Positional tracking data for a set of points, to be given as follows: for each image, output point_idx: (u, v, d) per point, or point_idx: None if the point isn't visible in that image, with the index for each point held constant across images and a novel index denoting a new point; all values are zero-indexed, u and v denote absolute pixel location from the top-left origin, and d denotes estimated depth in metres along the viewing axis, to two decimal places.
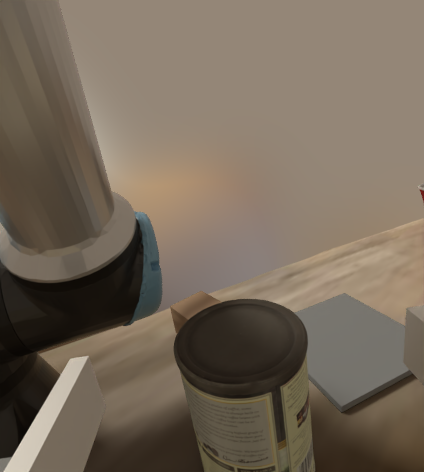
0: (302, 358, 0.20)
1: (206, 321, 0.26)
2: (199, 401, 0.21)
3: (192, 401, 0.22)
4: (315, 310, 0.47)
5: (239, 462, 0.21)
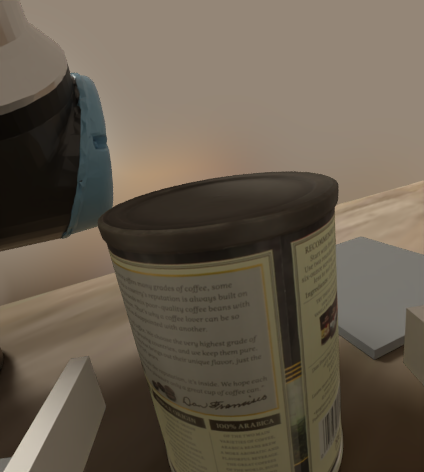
0: (332, 200, 0.10)
1: (166, 196, 0.16)
2: (135, 289, 0.11)
3: (127, 298, 0.12)
4: None
5: (213, 408, 0.11)
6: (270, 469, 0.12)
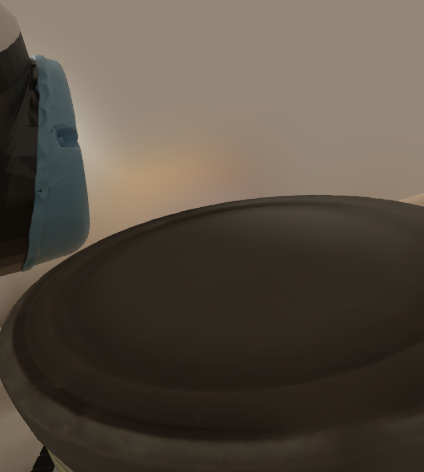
0: None
1: (155, 236, 0.10)
2: None
3: None
4: None
5: None
6: None
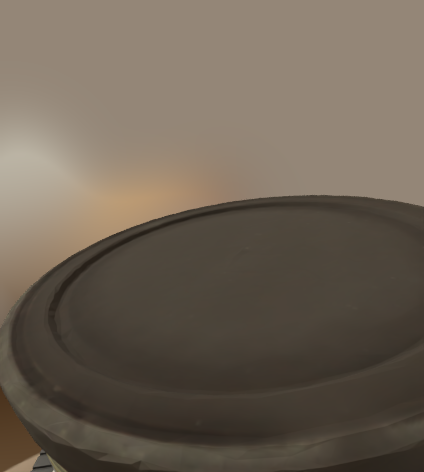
0: None
1: (154, 237, 0.10)
2: None
3: None
4: None
5: None
6: None
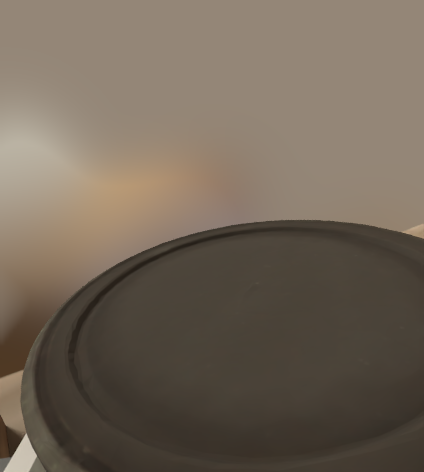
0: None
1: (164, 264, 0.10)
2: None
3: None
4: None
5: None
6: None
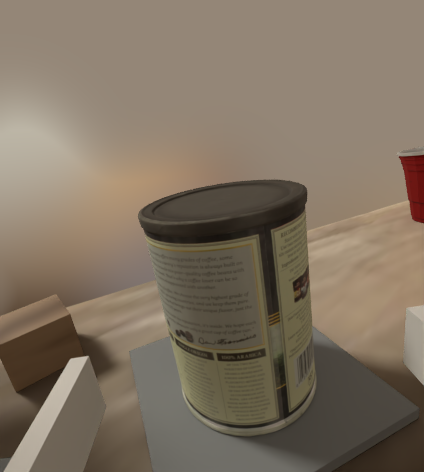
0: (300, 202, 0.16)
1: (183, 198, 0.21)
2: (167, 262, 0.16)
3: (159, 270, 0.17)
4: None
5: (220, 344, 0.16)
6: (259, 390, 0.17)
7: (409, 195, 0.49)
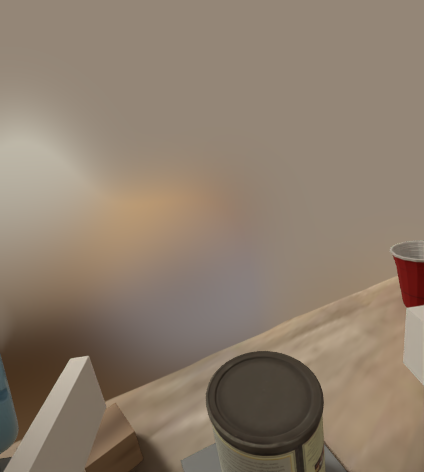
0: (320, 418, 0.24)
1: (232, 375, 0.29)
2: (231, 454, 0.24)
3: (224, 453, 0.25)
4: None
5: None
6: None
7: (401, 285, 0.58)
